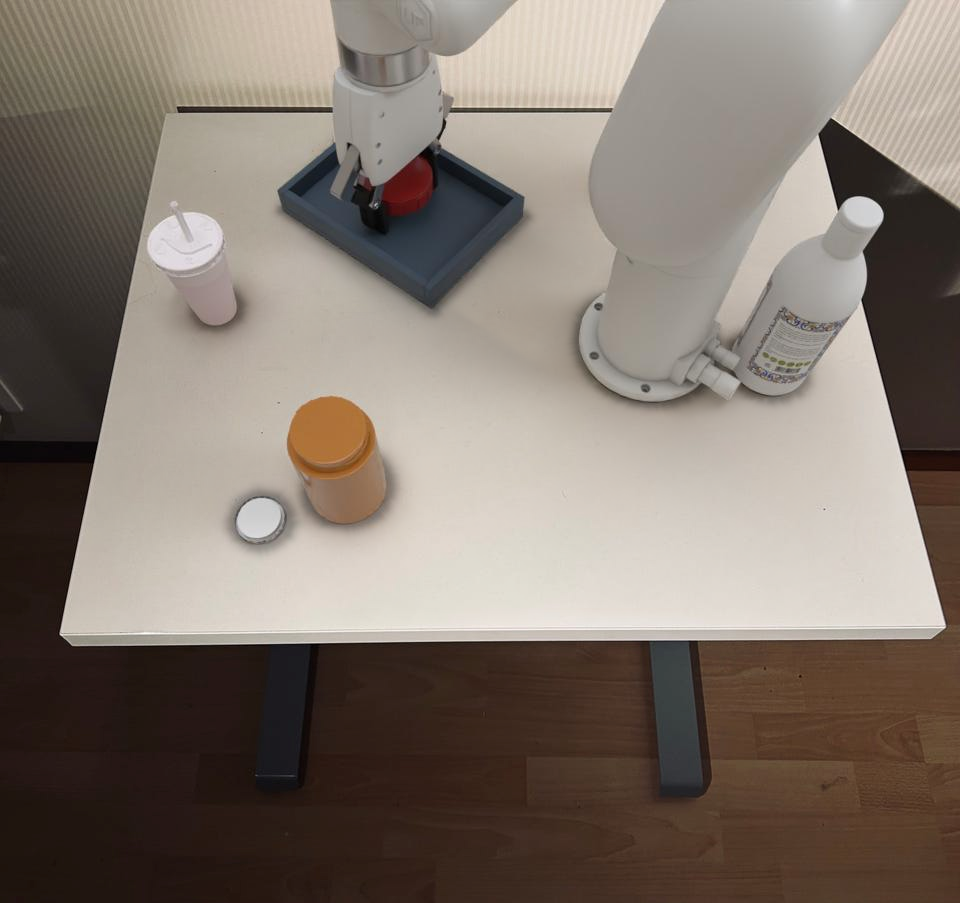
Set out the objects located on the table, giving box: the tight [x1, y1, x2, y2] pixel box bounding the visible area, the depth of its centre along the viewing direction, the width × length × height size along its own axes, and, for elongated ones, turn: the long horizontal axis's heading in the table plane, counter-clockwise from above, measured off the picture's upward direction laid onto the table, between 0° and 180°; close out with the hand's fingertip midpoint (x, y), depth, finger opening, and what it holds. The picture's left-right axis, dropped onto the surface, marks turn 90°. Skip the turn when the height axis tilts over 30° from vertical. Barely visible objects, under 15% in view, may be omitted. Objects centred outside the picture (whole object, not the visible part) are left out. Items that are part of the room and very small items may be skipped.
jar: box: [286, 395, 388, 525], centre depth 63 cm, size 7×7×11 cm
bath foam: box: [731, 196, 884, 396], centre depth 64 cm, size 7×7×20 cm
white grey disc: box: [234, 495, 286, 544], centre depth 66 cm, size 4×4×1 cm
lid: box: [364, 154, 434, 215], centre depth 77 cm, size 7×7×2 cm
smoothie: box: [146, 200, 238, 327], centre depth 69 cm, size 6×6×14 cm
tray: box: [277, 141, 525, 309], centre depth 80 cm, size 20×15×3 cm
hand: (400, 203), depth 80 cm, fingers closed on lid, 6 cm apart
